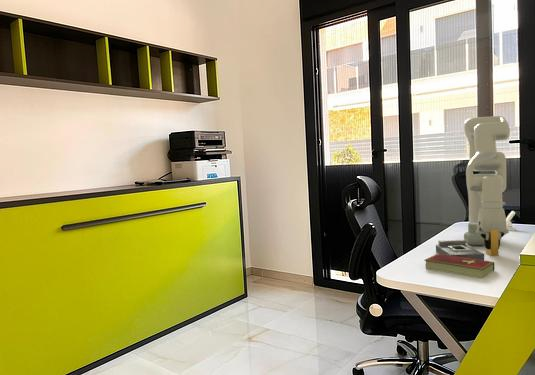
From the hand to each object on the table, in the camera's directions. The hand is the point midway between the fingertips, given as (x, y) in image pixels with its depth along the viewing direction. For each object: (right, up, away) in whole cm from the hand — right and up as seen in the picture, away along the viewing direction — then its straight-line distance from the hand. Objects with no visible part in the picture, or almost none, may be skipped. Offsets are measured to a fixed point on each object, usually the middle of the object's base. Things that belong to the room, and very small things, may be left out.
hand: (492, 248), depth 172 cm
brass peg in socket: (0, -3, 0) cm, 3 cm away
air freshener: (+3, -1, +19) cm, 19 cm away
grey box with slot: (-14, -3, 0) cm, 14 cm away
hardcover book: (-23, -6, -18) cm, 29 cm away
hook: (+35, +3, +48) cm, 60 cm away
